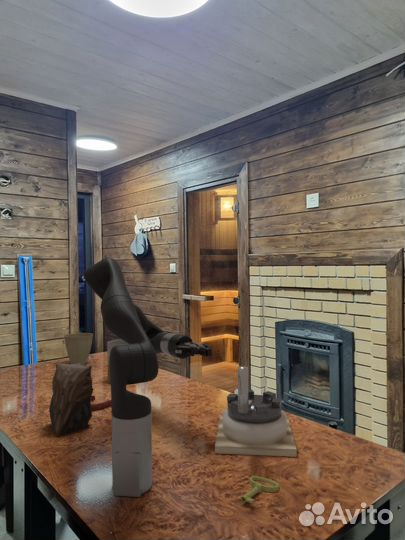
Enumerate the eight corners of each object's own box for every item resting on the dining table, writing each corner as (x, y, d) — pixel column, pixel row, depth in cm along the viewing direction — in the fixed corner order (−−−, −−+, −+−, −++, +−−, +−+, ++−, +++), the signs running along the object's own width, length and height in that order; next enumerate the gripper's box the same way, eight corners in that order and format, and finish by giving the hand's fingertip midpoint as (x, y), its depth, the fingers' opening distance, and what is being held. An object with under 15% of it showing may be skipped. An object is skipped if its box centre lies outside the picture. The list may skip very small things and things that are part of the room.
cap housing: (290, 446, 108) (290, 428, 108) (220, 443, 110) (220, 425, 110) (283, 419, 127) (283, 404, 127) (224, 418, 129) (224, 402, 129)
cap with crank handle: (291, 411, 119) (291, 356, 119) (252, 433, 103) (252, 370, 103) (247, 400, 130) (247, 349, 130) (206, 418, 114) (205, 361, 114)
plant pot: (96, 365, 210) (96, 335, 210) (68, 369, 202) (67, 338, 202) (88, 360, 222) (88, 331, 222) (61, 363, 215) (61, 334, 215)
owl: (48, 423, 131) (47, 363, 131) (87, 416, 137) (86, 358, 137) (54, 437, 120) (53, 371, 120) (96, 428, 126) (95, 366, 126)
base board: (296, 456, 106) (296, 449, 106) (215, 453, 109) (214, 446, 109) (288, 424, 128) (288, 418, 128) (220, 422, 131) (220, 416, 131)
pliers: (45, 418, 137) (45, 410, 137) (92, 400, 155) (92, 393, 155) (67, 425, 131) (67, 417, 131) (114, 406, 148) (114, 399, 148)
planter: (139, 382, 177) (138, 343, 177) (110, 386, 172) (109, 345, 172) (133, 375, 189) (132, 338, 189) (105, 378, 184) (105, 340, 184)
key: (240, 507, 85) (240, 497, 85) (251, 478, 96) (251, 470, 96) (273, 514, 82) (273, 503, 82) (281, 483, 94) (281, 474, 94)
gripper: (159, 336, 126) (191, 342, 112) (192, 332, 134) (226, 337, 121) (159, 359, 126) (192, 369, 112) (192, 354, 134) (227, 362, 120)
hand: (209, 352), depth 116 cm, fingers closed
